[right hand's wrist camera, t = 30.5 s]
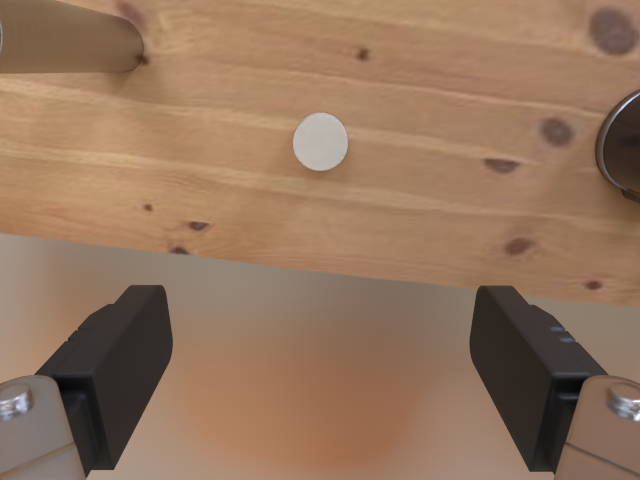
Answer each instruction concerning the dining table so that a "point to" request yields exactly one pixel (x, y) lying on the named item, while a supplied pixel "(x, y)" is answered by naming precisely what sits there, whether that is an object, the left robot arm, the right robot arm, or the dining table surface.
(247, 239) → the dining table surface
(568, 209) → the dining table surface
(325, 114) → the lid
